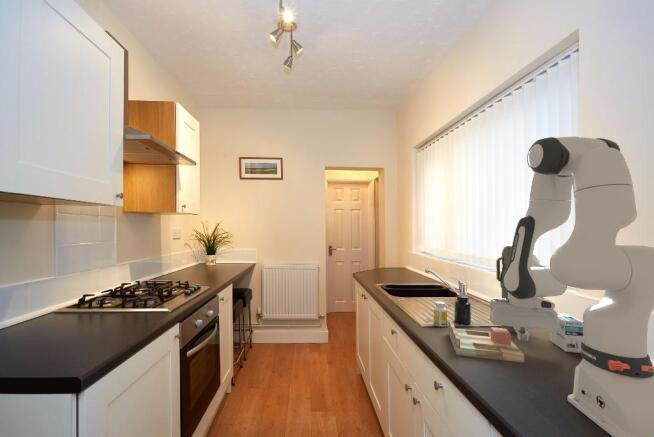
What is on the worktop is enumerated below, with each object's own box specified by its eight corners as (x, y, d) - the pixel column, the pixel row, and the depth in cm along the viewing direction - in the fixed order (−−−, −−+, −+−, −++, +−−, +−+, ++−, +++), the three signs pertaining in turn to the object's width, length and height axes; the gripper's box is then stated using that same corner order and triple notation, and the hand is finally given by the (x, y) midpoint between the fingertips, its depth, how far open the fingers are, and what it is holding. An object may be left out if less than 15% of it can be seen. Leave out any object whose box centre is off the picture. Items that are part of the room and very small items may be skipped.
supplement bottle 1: (447, 324, 131) (447, 301, 131) (446, 327, 126) (446, 304, 126) (434, 322, 133) (434, 300, 134) (433, 325, 128) (433, 303, 129)
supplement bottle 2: (451, 321, 134) (450, 295, 135) (461, 319, 138) (461, 293, 138) (464, 326, 128) (464, 298, 129) (474, 324, 131) (474, 296, 132)
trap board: (524, 362, 94) (523, 345, 94) (456, 354, 99) (456, 338, 100) (504, 339, 113) (504, 325, 113) (448, 334, 119) (448, 320, 119)
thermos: (493, 325, 130) (492, 245, 131) (521, 326, 129) (521, 246, 130) (502, 332, 121) (502, 247, 122) (533, 333, 120) (532, 247, 121)
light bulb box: (587, 354, 101) (587, 322, 101) (565, 352, 102) (564, 320, 103) (568, 342, 112) (568, 313, 112) (548, 340, 113) (548, 312, 113)
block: (510, 345, 102) (510, 333, 102) (494, 343, 103) (494, 331, 103) (506, 339, 107) (506, 328, 107) (490, 338, 108) (490, 327, 108)
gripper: (492, 299, 103) (492, 339, 103) (560, 304, 98) (561, 346, 97) (487, 295, 109) (487, 333, 109) (551, 299, 104) (552, 339, 103)
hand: (522, 339), depth 103 cm, fingers closed
